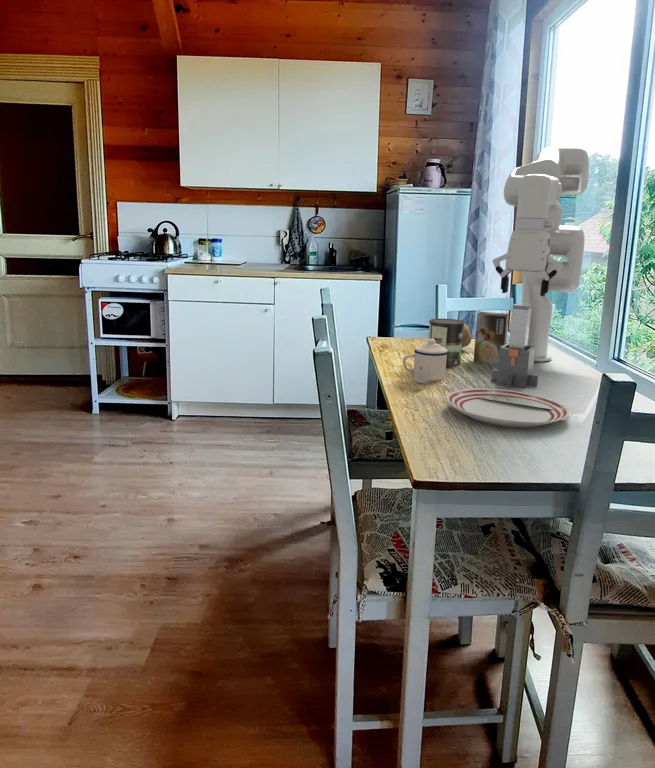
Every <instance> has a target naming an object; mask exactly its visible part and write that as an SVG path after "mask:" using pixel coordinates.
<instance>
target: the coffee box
mask: <svg viewBox="0 0 655 768" xmlns="http://www.w3.org/2000/svg"><path fill="white" fill-rule="evenodd" d="M509 318H510V314H509V313H503V312H502V313H501V312H488V311H479V312H477V314H476V324H475V336H474V337H475V339H474V351H473V362H476V363H480V364H482V363H483V364H491V365H497V366H498V363H499V353H500V347H502V346H503V345H505V344H506V343H507V342H508V341H507V340H508V328H509Z"/></svg>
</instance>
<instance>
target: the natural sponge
mask: <svg viewBox="0 0 655 768" xmlns="http://www.w3.org/2000/svg"><path fill="white" fill-rule="evenodd" d="M471 341H472V334H471V330H470V327H468V325H467V324H466V323H465V322H464V328H463V341H462V349H464V348H465V347H467V346H469V345H470V344H471Z"/></svg>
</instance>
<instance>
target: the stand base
mask: <svg viewBox="0 0 655 768" xmlns="http://www.w3.org/2000/svg"><path fill="white" fill-rule="evenodd" d="M534 355H535V346H527V350H520V349H512V348H509V342H506V344H505V345H503V346H502V347H500V353H499V363H498V365H497V369H492V371H491V381H495V382H496V385H501V386H506V388H507V389H512V388H513V387H514V388H515V387H516V388H519V389H527V388H528V386H529V387H537V388H538V383H539V375H537V374H533V372H534V363H535V361H534Z"/></svg>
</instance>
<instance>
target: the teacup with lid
mask: <svg viewBox="0 0 655 768" xmlns="http://www.w3.org/2000/svg"><path fill="white" fill-rule="evenodd" d="M413 352H414V354H411V353H410V354H406V355H405V356H404V357H403V359H402V366H403V368H404V370H406V372H409V373H413V377H412V378H413V379H412V380H413V381H414V382H415V381H416V382H415V383H417V382H418V383H417V384H420V383H422V385H425V384H426V383H428V382H430V381H442V380H445V378H446V371H447V370H446V359H447V354H448V351H447V349H446V348H444V347H441V346H440V345H439V344H436V343H435V340H434V339H429V338H428V340H427V342H425V343H422V344H421V345H418V346H416V347H414V349H413ZM409 358H414V363H413V369H411V368H408V367H407V365H406V360H407V359H409Z"/></svg>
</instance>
